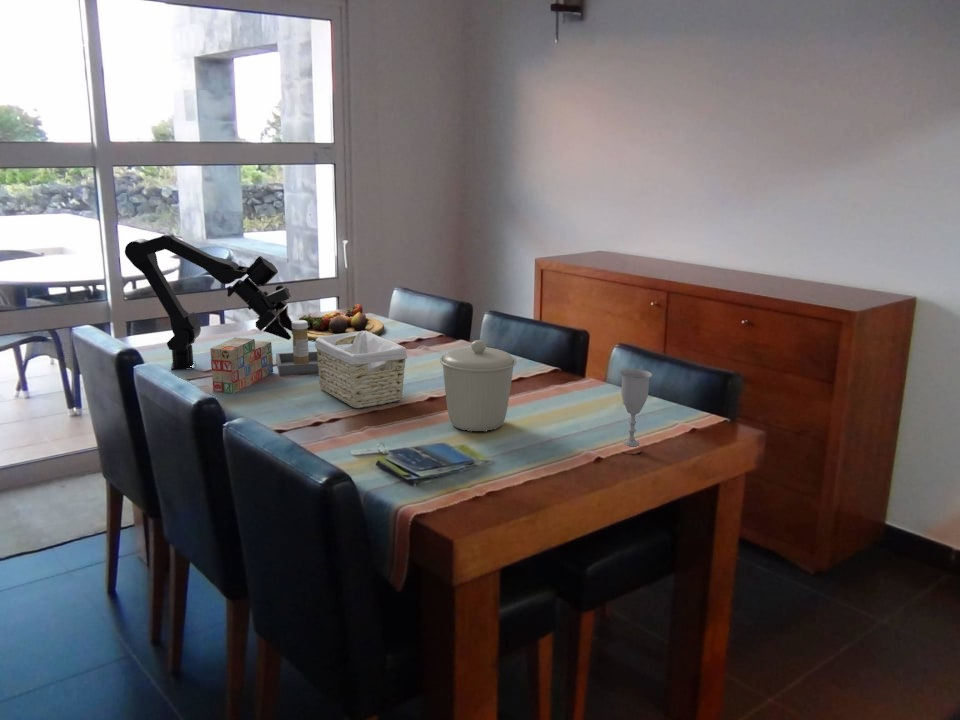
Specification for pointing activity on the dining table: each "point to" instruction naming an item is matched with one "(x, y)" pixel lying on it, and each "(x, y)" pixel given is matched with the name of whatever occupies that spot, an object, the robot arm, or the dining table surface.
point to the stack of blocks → (240, 363)
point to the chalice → (634, 397)
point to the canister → (477, 386)
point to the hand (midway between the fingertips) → (293, 335)
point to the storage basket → (361, 368)
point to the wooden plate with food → (341, 323)
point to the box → (289, 368)
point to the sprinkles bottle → (300, 342)
